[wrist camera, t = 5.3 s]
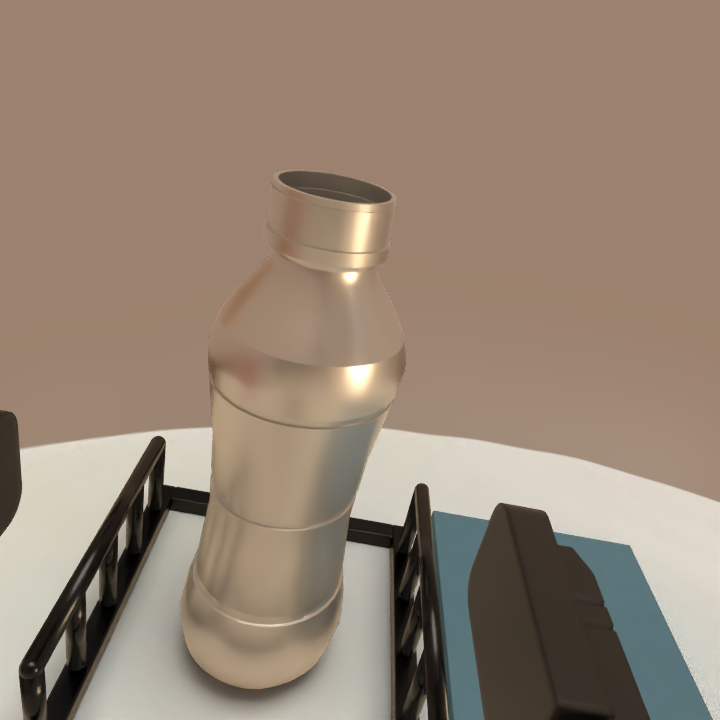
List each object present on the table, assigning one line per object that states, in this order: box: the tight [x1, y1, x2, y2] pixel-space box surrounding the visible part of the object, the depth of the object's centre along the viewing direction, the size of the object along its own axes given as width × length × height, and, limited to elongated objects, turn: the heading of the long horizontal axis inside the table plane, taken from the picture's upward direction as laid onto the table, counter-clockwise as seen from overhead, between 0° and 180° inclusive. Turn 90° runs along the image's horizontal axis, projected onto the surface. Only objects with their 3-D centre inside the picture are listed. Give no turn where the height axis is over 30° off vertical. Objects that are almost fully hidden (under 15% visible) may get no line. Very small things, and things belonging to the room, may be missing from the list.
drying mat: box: [431, 511, 713, 720], centre depth 28 cm, size 20×12×1 cm, turn 178°
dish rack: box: [19, 436, 450, 720], centre depth 26 cm, size 16×14×5 cm
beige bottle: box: [181, 170, 406, 689], centre depth 23 cm, size 6×7×20 cm
